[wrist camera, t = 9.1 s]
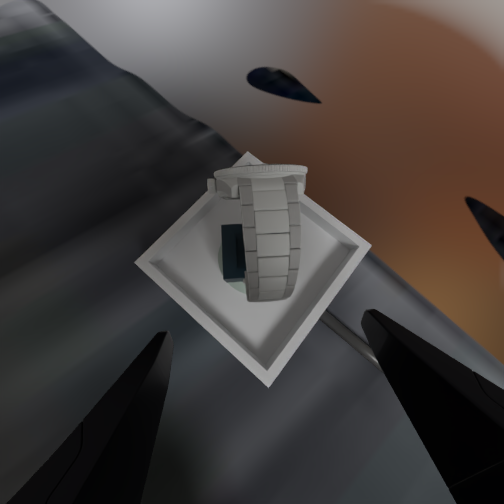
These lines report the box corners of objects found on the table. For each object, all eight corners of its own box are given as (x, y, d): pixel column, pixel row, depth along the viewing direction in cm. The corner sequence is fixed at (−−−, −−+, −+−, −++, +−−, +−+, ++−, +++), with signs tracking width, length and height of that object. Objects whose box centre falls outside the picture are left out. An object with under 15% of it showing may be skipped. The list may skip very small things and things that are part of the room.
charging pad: (460, 332, 19) (494, 338, 16) (380, 481, 16) (405, 515, 14) (247, 168, 22) (247, 151, 20) (148, 267, 19) (134, 262, 17)
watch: (280, 214, 20) (323, 112, 9) (289, 298, 18) (357, 297, 7) (223, 217, 19) (195, 116, 9) (226, 302, 18) (197, 309, 7)
